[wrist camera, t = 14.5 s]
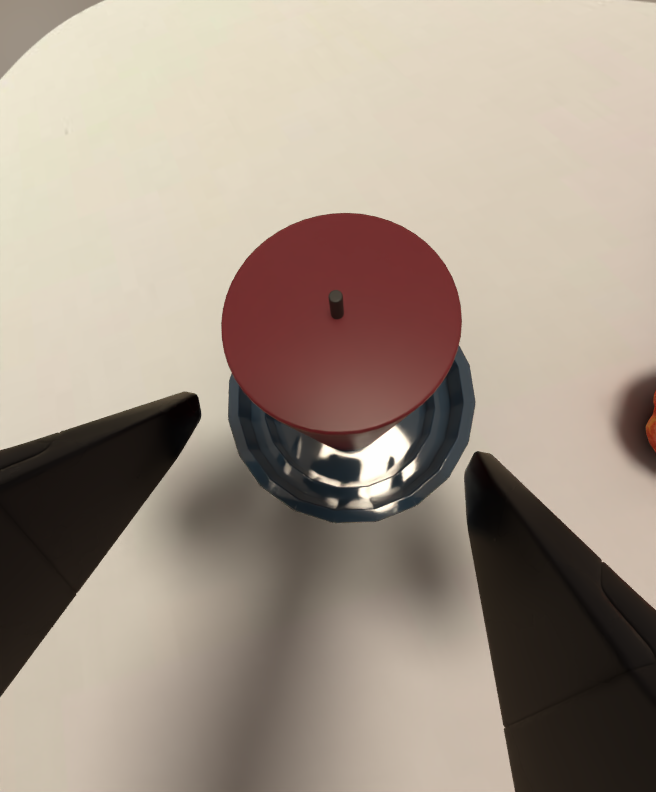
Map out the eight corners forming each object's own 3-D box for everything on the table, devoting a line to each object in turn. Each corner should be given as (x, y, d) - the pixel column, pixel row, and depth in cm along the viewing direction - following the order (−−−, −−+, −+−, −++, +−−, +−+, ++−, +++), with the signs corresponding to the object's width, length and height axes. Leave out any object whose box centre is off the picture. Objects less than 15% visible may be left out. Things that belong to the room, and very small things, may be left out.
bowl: (334, 551, 18) (328, 583, 13) (220, 395, 20) (184, 377, 16) (488, 419, 18) (530, 407, 14) (359, 286, 21) (361, 242, 17)
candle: (318, 462, 18) (236, 471, 5) (294, 380, 19) (182, 229, 7) (402, 435, 18) (527, 378, 5) (373, 355, 19) (416, 152, 7)
